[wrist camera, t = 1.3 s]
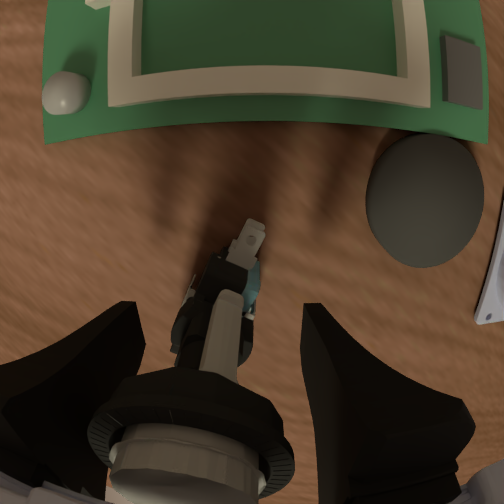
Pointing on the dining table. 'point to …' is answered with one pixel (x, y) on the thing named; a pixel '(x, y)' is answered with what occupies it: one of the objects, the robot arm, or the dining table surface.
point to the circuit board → (264, 64)
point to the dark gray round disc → (424, 199)
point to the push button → (199, 402)
